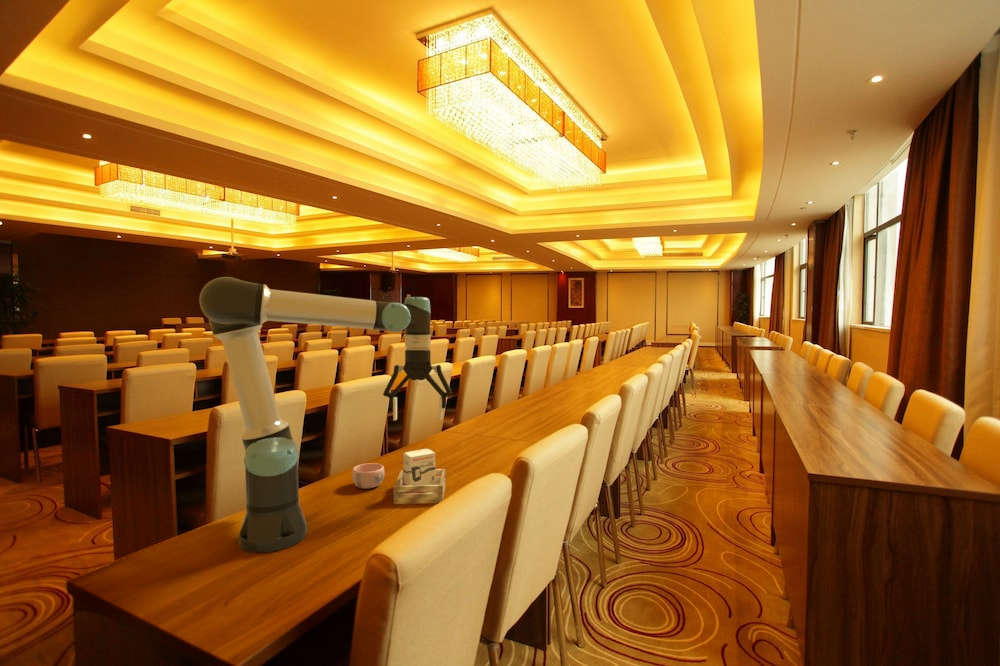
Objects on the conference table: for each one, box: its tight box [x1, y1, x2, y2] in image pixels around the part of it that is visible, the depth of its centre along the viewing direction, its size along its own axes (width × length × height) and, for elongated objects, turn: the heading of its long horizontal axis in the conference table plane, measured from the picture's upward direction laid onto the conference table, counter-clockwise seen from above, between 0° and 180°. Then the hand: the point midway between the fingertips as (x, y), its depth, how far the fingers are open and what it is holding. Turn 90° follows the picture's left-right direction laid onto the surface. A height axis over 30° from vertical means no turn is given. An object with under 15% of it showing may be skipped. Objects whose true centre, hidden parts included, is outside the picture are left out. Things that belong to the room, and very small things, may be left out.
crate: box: [393, 468, 447, 505], centre depth 149 cm, size 14×15×5 cm
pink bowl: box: [351, 462, 385, 489], centre depth 157 cm, size 12×10×6 cm
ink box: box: [402, 448, 436, 494], centre depth 149 cm, size 8×5×12 cm, turn 124°
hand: (418, 419), depth 148 cm, fingers open, 13 cm apart
